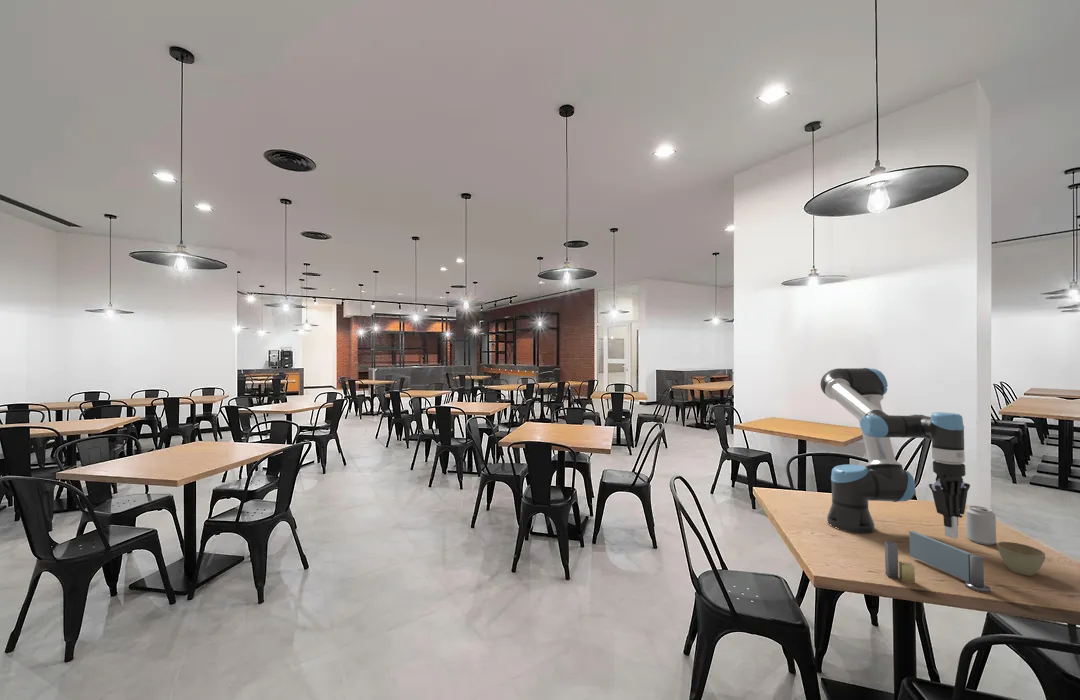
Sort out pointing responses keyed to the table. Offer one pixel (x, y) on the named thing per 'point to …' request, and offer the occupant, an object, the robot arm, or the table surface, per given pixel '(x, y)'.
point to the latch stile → (892, 564)
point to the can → (981, 525)
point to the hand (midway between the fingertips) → (951, 536)
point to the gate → (947, 558)
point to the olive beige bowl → (1021, 557)
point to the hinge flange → (980, 589)
